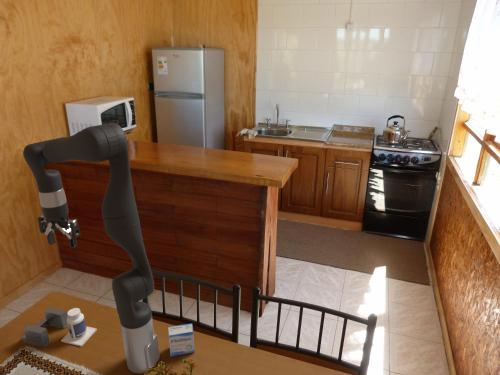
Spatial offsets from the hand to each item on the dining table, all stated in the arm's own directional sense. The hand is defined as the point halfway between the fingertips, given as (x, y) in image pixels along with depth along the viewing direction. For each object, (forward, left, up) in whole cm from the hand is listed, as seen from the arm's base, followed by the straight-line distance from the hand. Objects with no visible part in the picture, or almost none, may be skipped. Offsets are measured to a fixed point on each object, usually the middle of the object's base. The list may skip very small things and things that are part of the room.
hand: (62, 245), depth 127 cm
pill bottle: (-7, +8, -30) cm, 32 cm away
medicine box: (-44, +4, -30) cm, 54 cm away
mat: (-7, +8, -30) cm, 32 cm away
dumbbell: (+5, +9, -30) cm, 32 cm away
